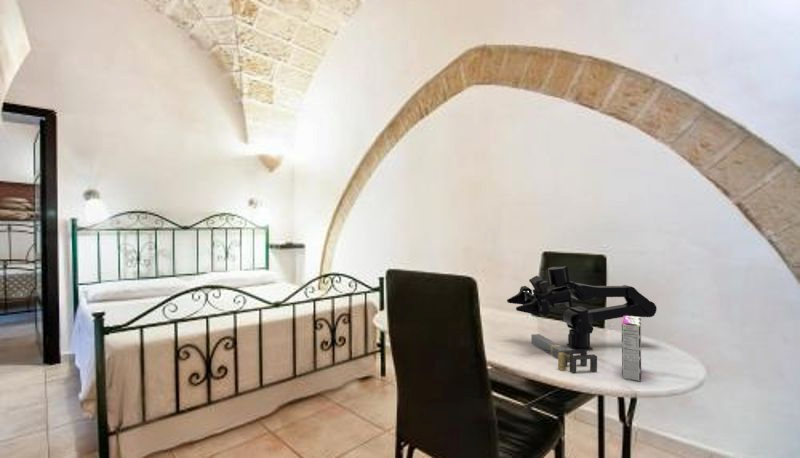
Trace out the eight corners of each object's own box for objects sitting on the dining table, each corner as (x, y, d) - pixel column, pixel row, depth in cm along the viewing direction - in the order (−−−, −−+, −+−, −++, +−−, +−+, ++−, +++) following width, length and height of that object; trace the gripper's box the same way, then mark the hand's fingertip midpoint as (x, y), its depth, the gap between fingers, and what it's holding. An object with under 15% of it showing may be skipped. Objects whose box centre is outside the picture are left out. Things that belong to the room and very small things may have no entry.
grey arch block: (583, 364, 126) (583, 349, 126) (586, 365, 124) (586, 350, 124) (560, 365, 124) (560, 350, 124) (563, 367, 123) (563, 352, 123)
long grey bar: (531, 342, 149) (531, 334, 149) (539, 342, 149) (539, 334, 149) (563, 362, 127) (563, 353, 127) (572, 362, 127) (572, 352, 127)
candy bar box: (622, 367, 123) (623, 315, 123) (641, 370, 121) (641, 316, 120) (620, 378, 114) (621, 322, 114) (641, 382, 111) (641, 324, 111)
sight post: (568, 368, 122) (568, 352, 122) (571, 369, 121) (571, 353, 121) (558, 368, 122) (558, 352, 122) (560, 370, 120) (561, 354, 120)
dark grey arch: (593, 369, 121) (593, 354, 121) (597, 371, 119) (597, 356, 119) (569, 371, 120) (569, 355, 119) (572, 373, 118) (572, 357, 118)
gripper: (539, 269, 151) (500, 277, 150) (562, 281, 132) (518, 290, 131) (543, 297, 152) (504, 305, 151) (566, 313, 133) (522, 322, 133)
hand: (511, 305), depth 141 cm, fingers open, 9 cm apart
